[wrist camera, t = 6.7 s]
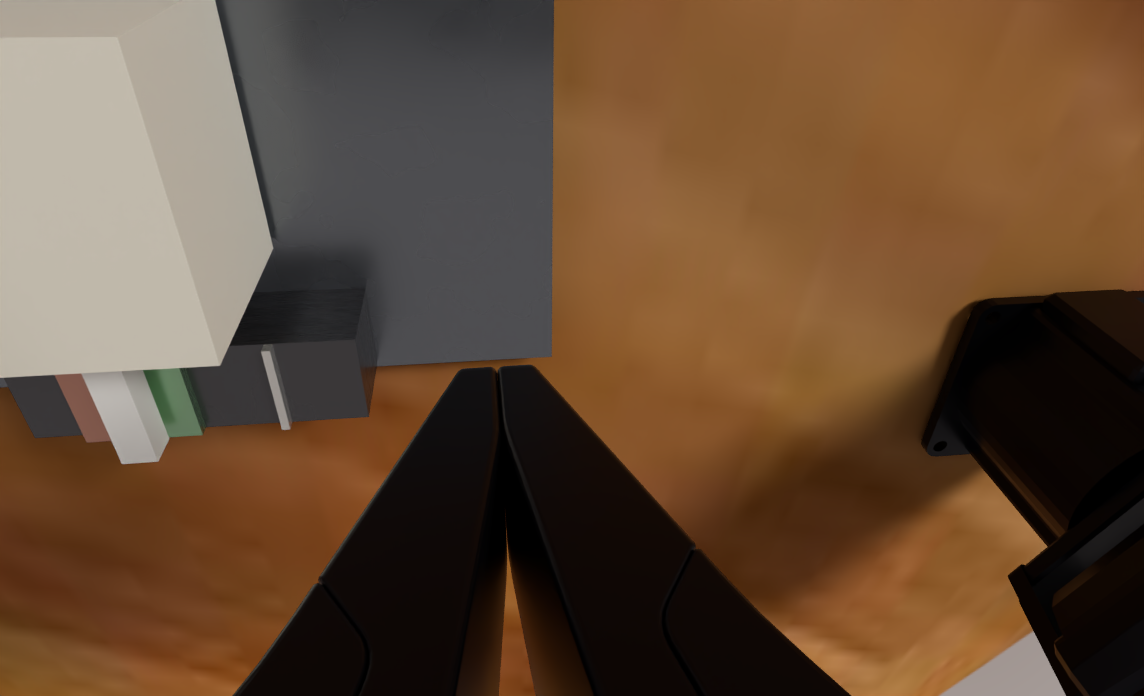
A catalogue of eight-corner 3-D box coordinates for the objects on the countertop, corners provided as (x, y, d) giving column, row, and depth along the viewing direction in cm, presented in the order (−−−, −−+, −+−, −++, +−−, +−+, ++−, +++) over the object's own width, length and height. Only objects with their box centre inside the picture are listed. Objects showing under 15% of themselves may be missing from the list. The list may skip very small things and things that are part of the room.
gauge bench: (548, 337, 22) (572, 476, 18) (-258, 380, 20) (-492, 556, 15) (549, -251, 14) (596, -297, 10) (-794, -305, 12) (-1661, -404, 7)
